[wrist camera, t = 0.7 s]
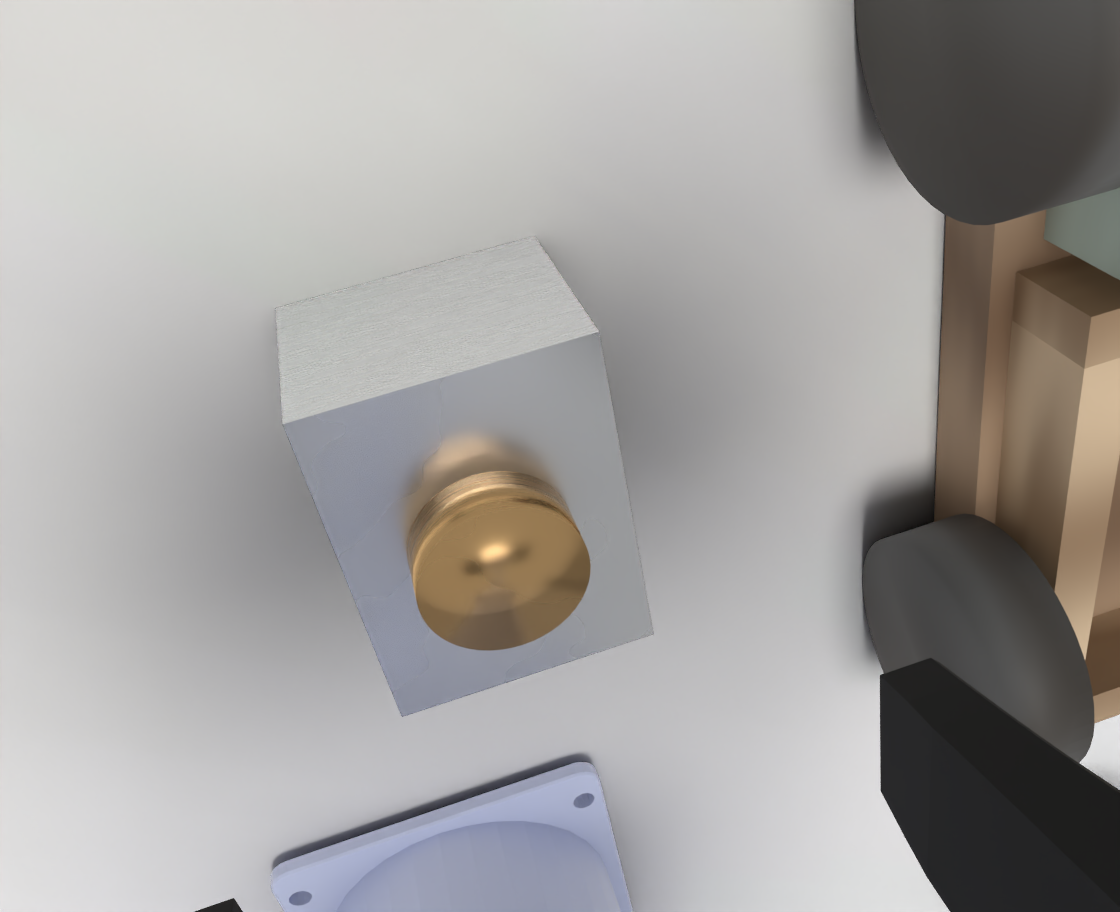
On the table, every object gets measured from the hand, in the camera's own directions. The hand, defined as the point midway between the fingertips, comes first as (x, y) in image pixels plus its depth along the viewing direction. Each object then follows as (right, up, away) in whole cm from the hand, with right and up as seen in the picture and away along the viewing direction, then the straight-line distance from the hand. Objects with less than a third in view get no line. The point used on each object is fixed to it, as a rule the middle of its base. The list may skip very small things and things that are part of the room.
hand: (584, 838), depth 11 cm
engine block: (-2, +5, +8) cm, 10 cm away
